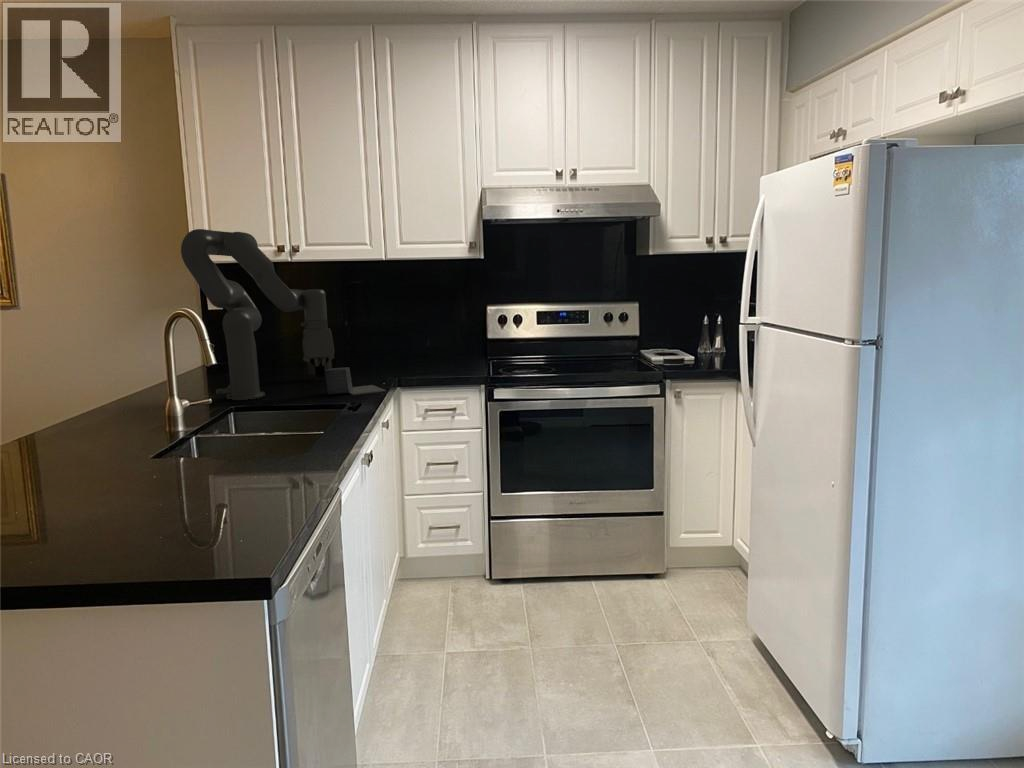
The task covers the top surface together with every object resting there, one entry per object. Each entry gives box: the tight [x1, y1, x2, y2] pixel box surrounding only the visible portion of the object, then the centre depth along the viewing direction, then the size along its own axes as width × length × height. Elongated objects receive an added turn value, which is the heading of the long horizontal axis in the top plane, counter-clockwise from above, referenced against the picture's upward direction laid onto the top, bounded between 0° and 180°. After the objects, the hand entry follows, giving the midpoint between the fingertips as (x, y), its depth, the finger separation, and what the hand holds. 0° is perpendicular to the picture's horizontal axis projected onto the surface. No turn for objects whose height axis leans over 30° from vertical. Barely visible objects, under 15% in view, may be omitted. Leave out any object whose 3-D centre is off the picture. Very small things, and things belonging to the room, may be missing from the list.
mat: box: [348, 384, 387, 396], centre depth 254 cm, size 12×14×1 cm
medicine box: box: [325, 367, 353, 395], centre depth 248 cm, size 8×4×9 cm, turn 84°
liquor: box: [306, 358, 333, 383], centre depth 279 cm, size 9×9×30 cm
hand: (320, 376), depth 245 cm, fingers closed
